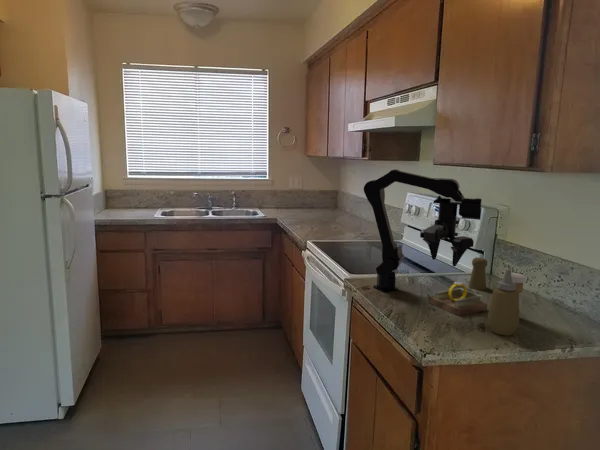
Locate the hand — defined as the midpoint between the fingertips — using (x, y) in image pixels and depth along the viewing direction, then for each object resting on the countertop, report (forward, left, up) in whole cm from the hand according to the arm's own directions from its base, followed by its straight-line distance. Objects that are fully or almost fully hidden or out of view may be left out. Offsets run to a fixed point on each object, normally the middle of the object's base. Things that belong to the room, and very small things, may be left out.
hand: (443, 262), depth 151 cm
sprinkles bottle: (+23, +6, -12) cm, 27 cm away
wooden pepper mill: (-2, +20, -12) cm, 24 cm away
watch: (+9, -2, -10) cm, 14 cm away
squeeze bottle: (+29, -6, -12) cm, 32 cm away
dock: (+9, -2, -12) cm, 15 cm away
